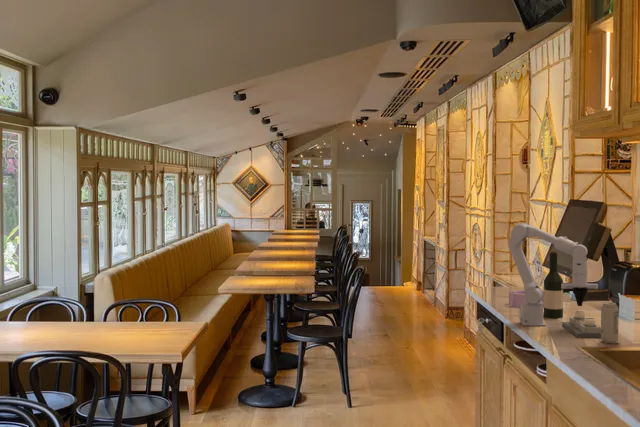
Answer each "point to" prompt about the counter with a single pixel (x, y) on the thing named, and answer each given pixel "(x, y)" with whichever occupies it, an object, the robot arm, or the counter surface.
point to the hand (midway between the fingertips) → (579, 305)
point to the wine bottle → (553, 291)
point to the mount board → (582, 329)
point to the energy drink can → (609, 322)
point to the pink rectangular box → (518, 298)
